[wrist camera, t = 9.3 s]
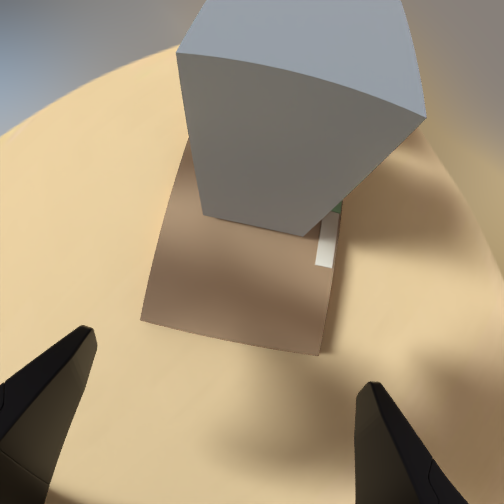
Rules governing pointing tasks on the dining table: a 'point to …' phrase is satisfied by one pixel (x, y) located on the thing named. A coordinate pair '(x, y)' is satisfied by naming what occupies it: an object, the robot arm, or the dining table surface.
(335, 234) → the block on stand
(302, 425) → the dining table surface
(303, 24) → the blue-gray square block
